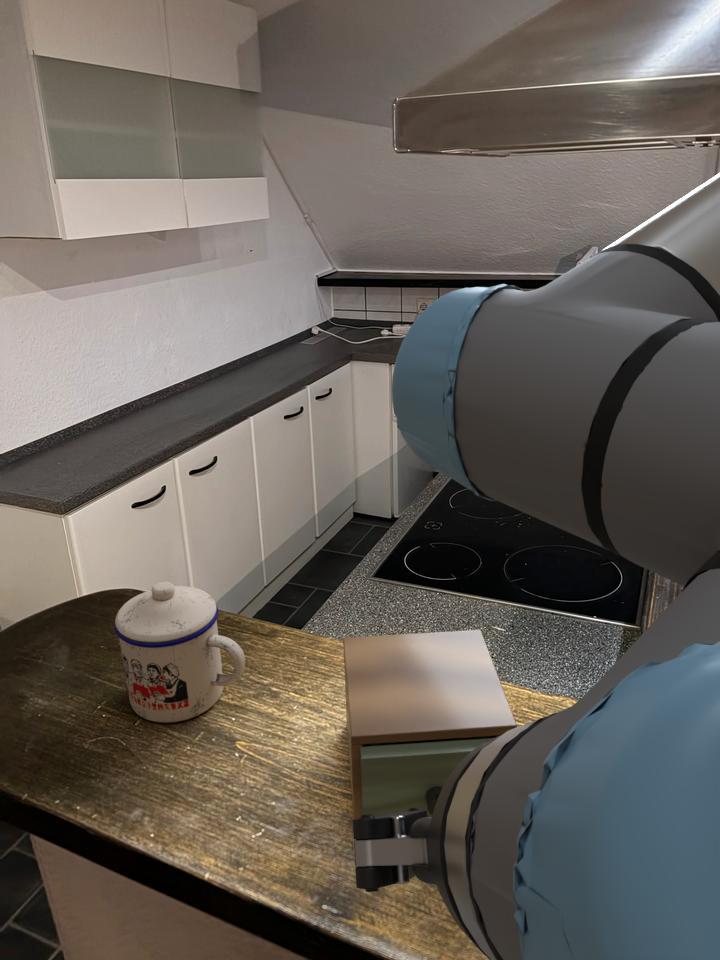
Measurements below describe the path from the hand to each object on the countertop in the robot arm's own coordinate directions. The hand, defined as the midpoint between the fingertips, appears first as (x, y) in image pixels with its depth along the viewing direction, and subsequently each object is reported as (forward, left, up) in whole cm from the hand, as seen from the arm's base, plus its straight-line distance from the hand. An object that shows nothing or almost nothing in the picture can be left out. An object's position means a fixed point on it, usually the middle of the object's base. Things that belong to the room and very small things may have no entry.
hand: (457, 827), depth 45 cm
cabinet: (+1, -14, -9) cm, 17 cm away
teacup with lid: (+22, -24, -9) cm, 34 cm away
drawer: (+1, -12, -8) cm, 15 cm away
